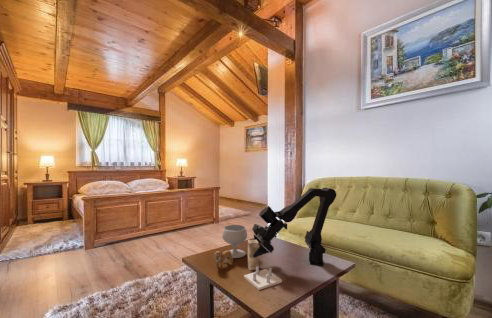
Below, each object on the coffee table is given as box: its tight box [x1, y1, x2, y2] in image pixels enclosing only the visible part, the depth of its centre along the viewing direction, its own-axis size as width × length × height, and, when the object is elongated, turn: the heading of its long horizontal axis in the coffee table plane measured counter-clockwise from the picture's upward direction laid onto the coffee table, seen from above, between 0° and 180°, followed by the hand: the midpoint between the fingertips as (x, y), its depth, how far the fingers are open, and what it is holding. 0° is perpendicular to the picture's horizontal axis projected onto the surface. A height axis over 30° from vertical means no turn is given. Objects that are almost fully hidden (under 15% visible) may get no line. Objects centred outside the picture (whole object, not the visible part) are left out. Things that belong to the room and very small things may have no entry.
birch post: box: [247, 239, 260, 271], centre depth 115 cm, size 4×4×13 cm
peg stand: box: [243, 266, 283, 291], centre depth 103 cm, size 12×12×4 cm
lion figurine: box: [213, 249, 234, 270], centre depth 118 cm, size 15×5×9 cm, turn 152°
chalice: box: [221, 224, 248, 259], centre depth 132 cm, size 14×14×15 cm
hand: (251, 253), depth 115 cm, fingers open, 9 cm apart
